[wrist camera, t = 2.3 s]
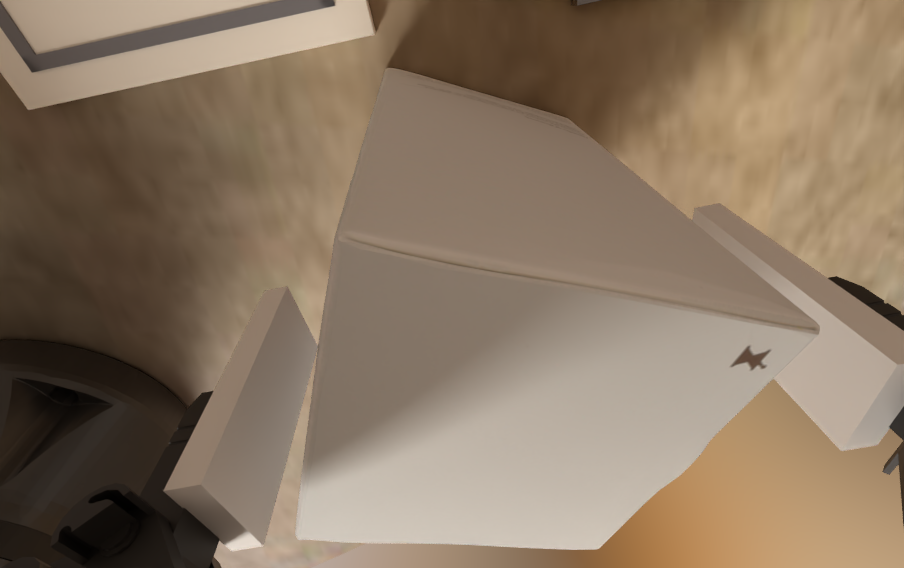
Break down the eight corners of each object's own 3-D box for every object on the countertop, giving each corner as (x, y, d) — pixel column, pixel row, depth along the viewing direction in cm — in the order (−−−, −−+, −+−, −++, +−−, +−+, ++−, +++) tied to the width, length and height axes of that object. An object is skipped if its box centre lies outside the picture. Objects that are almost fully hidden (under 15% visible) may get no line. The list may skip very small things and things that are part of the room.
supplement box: (381, 58, 17) (323, 214, 5) (572, 116, 19) (855, 325, 7) (350, 243, 22) (282, 550, 10) (505, 273, 24) (606, 559, 12)
